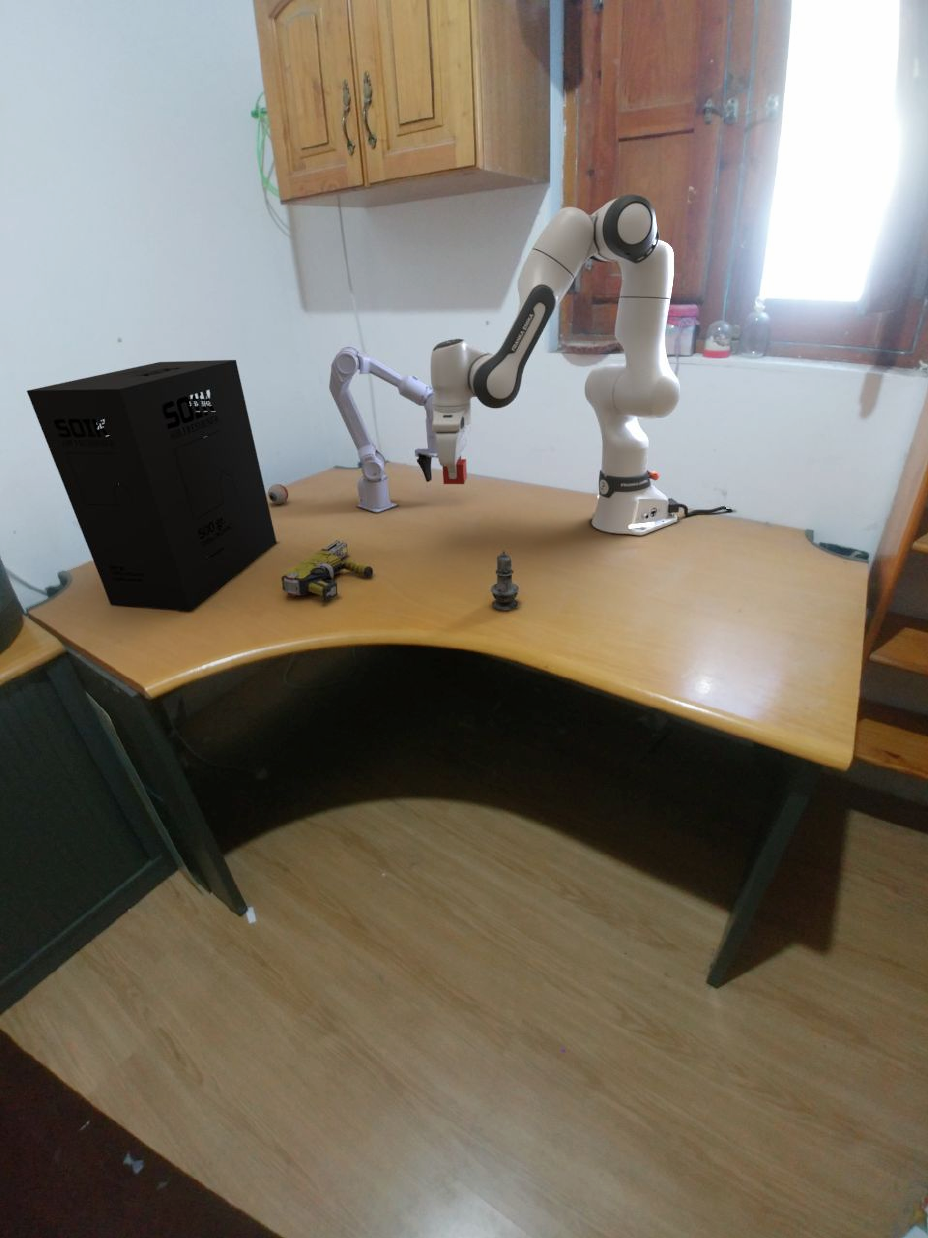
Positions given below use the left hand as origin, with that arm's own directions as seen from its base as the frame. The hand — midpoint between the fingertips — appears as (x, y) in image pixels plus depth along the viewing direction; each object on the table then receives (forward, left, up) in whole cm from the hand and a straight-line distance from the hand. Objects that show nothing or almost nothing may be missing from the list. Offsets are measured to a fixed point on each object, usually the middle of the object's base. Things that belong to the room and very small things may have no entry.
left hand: (440, 481), depth 179 cm
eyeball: (-40, -32, -6) cm, 52 cm away
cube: (+25, -17, +9) cm, 31 cm away
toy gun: (+20, -51, -6) cm, 55 cm away
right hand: (+25, -17, +11) cm, 32 cm away
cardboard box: (-10, -70, -6) cm, 71 cm away
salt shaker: (+58, -36, -6) cm, 68 cm away
